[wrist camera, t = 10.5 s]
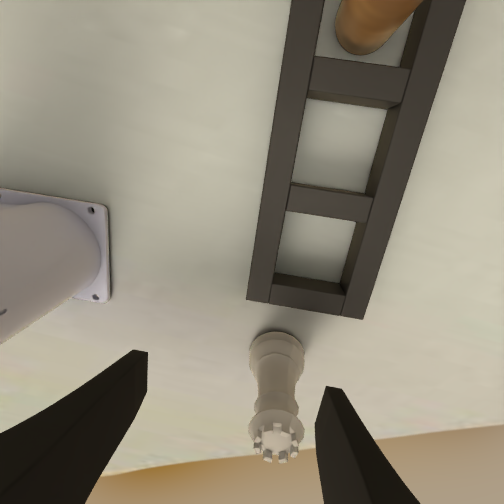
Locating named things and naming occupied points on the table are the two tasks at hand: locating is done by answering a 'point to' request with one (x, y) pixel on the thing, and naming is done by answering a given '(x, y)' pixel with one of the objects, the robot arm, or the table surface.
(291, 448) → the rook chess piece
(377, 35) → the beech peg
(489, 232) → the table surface
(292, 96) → the holder
